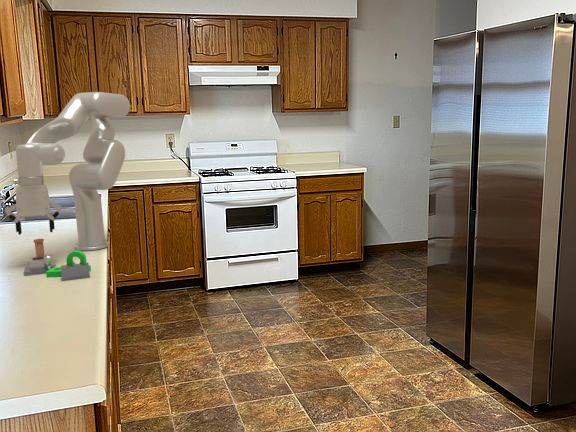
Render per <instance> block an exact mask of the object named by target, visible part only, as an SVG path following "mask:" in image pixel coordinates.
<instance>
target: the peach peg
mask: <svg viewBox="0 0 576 432" xmlns="http://www.w3.org/2000/svg"><path fill="white" fill-rule="evenodd" d="M44 240H45V239H44V238H36V239H33V240H32V241H33V243H34V248H35V255H36V256H35V257H40V256H46V255H45V246H44Z"/></svg>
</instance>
